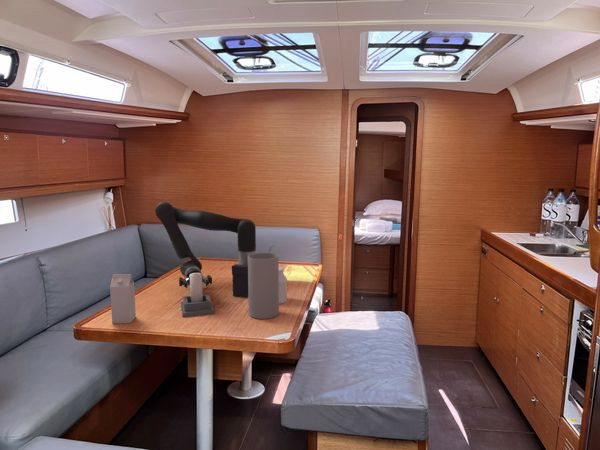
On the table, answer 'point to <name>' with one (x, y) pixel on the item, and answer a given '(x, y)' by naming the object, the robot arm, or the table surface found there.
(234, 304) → the table surface
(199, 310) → the roll holder
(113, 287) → the milk carton
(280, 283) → the jar
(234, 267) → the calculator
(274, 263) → the cylinder vase
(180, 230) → the robot arm
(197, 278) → the paper roll
